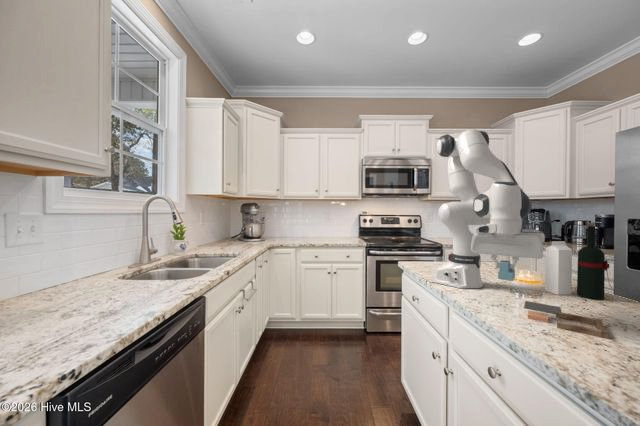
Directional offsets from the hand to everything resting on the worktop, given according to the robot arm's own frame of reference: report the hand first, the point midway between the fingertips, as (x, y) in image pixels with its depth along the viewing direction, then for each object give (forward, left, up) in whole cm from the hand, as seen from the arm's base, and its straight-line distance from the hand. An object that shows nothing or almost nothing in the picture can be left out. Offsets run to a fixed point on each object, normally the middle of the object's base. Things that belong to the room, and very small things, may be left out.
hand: (504, 268), depth 92 cm
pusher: (0, 0, -3) cm, 3 cm away
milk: (+15, +42, -15) cm, 47 cm away
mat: (+10, +13, -15) cm, 22 cm away
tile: (+9, 0, -15) cm, 18 cm away
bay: (+18, 0, -15) cm, 23 cm away
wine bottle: (+26, +43, -15) cm, 53 cm away
